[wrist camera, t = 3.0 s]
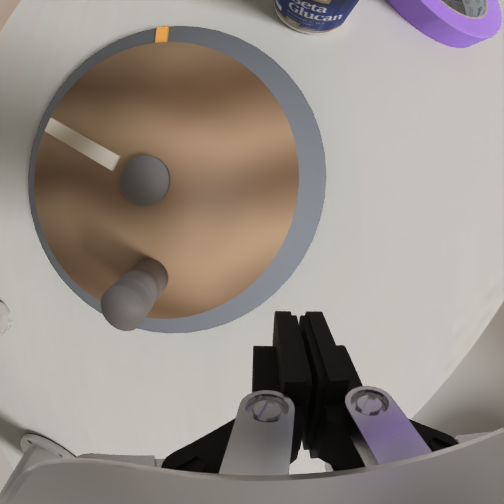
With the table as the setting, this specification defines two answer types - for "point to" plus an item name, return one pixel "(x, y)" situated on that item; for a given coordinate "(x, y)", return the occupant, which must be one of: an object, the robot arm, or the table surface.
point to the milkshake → (4, 319)
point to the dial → (166, 181)
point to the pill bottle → (314, 14)
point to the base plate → (308, 158)
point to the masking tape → (452, 20)
